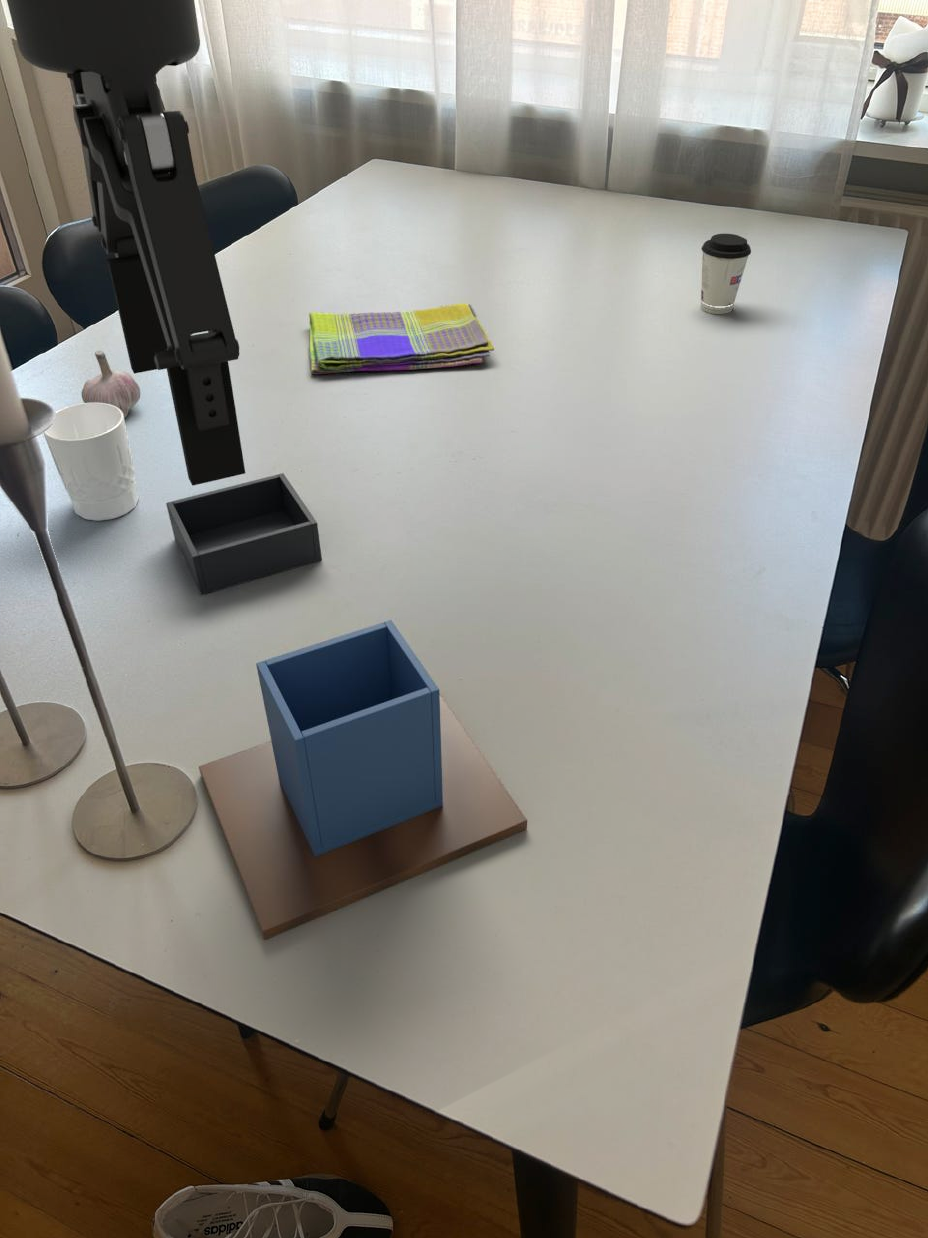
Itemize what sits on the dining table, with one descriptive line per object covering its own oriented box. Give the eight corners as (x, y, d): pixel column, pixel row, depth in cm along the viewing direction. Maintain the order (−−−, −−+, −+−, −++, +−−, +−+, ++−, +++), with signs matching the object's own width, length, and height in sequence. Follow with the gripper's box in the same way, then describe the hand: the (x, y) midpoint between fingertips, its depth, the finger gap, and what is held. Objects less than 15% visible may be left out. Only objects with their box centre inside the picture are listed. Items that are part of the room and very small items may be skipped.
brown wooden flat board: (264, 940, 64) (262, 932, 63) (200, 774, 75) (198, 766, 74) (527, 829, 71) (527, 820, 70) (433, 692, 82) (433, 683, 81)
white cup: (157, 488, 106) (137, 406, 100) (122, 529, 100) (98, 444, 94) (92, 480, 107) (68, 398, 101) (54, 519, 102) (25, 435, 95)
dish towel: (309, 324, 139) (307, 305, 137) (476, 314, 142) (476, 295, 140) (311, 379, 126) (309, 359, 124) (495, 366, 128) (495, 347, 127)
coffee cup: (685, 311, 142) (696, 242, 135) (701, 295, 147) (711, 227, 140) (732, 320, 139) (745, 250, 133) (746, 303, 144) (759, 235, 138)
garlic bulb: (127, 427, 116) (111, 366, 111) (72, 422, 118) (53, 360, 112) (155, 398, 122) (141, 338, 117) (102, 393, 123) (85, 333, 118)
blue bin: (314, 857, 68) (294, 740, 60) (278, 778, 73) (255, 662, 65) (443, 806, 71) (439, 689, 63) (399, 734, 77) (391, 619, 69)
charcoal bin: (201, 595, 92) (192, 557, 89) (174, 539, 99) (165, 502, 96) (322, 560, 96) (317, 522, 93) (288, 509, 103) (283, 472, 100)
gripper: (276, -14, 32) (326, 515, 46) (123, -80, 49) (193, 320, 63) (41, -2, 30) (169, 555, 43) (-35, -76, 47) (74, 341, 60)
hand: (183, 417), depth 53 cm, fingers open, 13 cm apart
